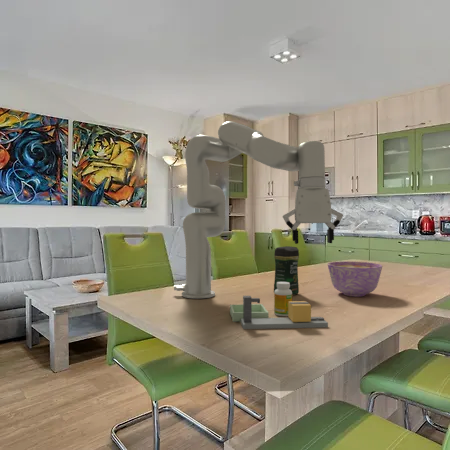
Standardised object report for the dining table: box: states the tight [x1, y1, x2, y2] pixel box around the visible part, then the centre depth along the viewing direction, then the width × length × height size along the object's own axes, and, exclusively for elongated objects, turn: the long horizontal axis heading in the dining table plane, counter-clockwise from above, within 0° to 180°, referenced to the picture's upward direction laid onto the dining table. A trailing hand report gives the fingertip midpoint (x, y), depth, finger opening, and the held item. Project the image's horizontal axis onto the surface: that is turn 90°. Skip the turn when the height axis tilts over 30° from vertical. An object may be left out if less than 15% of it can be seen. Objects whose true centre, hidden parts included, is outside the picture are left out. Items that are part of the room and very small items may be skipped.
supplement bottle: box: [273, 282, 293, 317], centre depth 112 cm, size 5×5×10 cm
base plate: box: [240, 316, 329, 330], centre depth 100 cm, size 23×6×2 cm, turn 94°
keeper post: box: [242, 295, 261, 323], centre depth 100 cm, size 4×2×8 cm, turn 94°
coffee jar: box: [273, 245, 300, 296], centre depth 141 cm, size 10×8×19 cm
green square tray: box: [229, 303, 269, 323], centre depth 109 cm, size 10×10×2 cm
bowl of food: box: [327, 261, 383, 297], centre depth 141 cm, size 20×20×12 cm
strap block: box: [287, 300, 312, 322], centre depth 101 cm, size 5×5×5 cm
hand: (313, 243), depth 107 cm, fingers open, 9 cm apart
